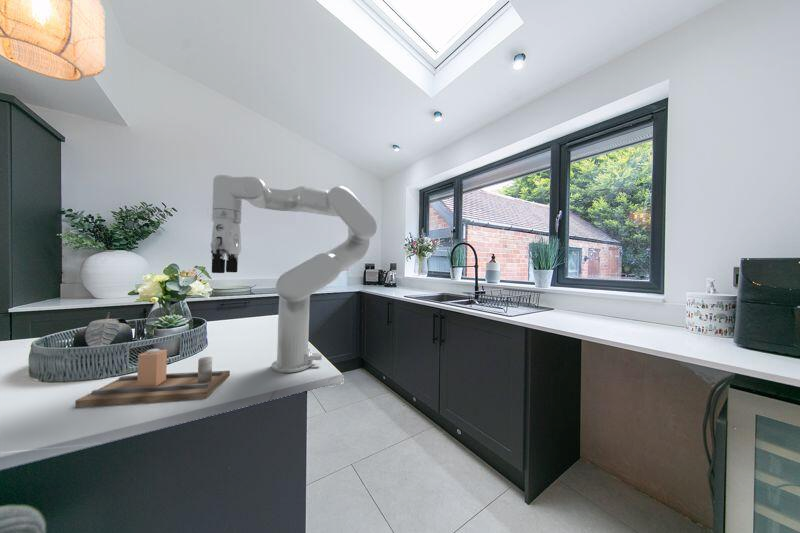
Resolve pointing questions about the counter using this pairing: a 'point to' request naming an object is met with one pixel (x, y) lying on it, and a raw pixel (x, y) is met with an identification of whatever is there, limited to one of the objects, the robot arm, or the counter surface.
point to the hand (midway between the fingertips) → (225, 272)
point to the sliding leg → (151, 368)
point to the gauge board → (159, 388)
